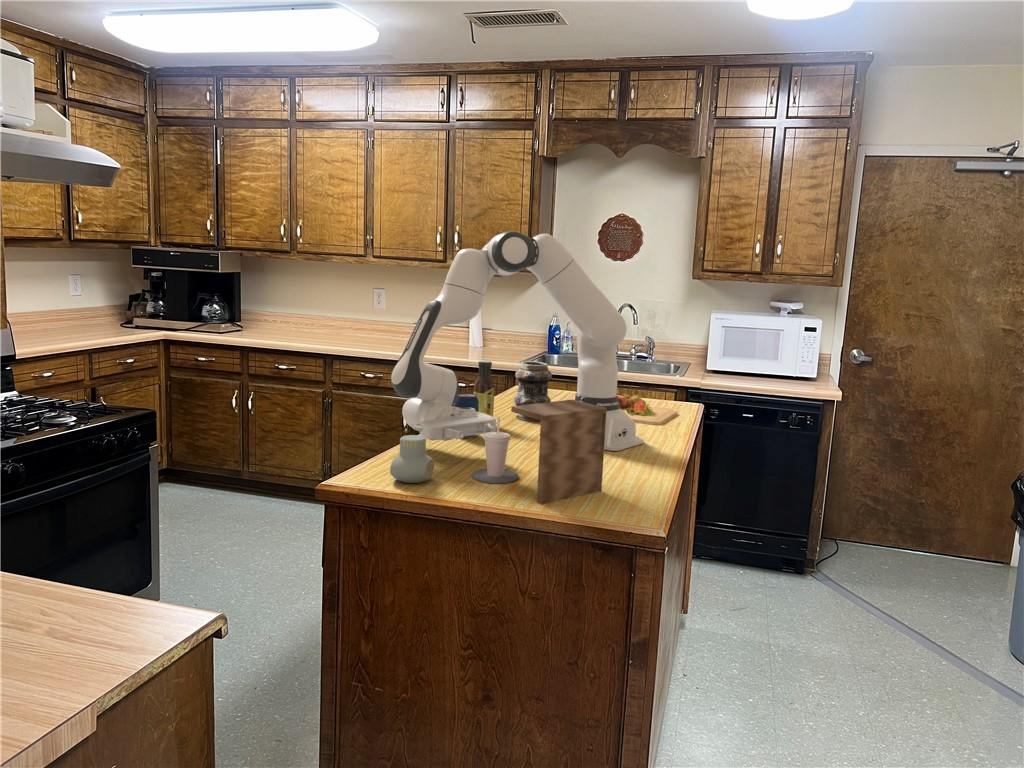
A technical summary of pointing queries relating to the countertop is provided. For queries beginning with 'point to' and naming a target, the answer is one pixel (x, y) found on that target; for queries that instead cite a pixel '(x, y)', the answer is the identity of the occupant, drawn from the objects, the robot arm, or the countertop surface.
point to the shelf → (568, 448)
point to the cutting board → (645, 411)
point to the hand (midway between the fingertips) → (476, 433)
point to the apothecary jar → (532, 385)
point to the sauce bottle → (485, 388)
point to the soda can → (467, 402)
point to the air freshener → (412, 461)
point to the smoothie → (496, 451)
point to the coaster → (484, 477)
